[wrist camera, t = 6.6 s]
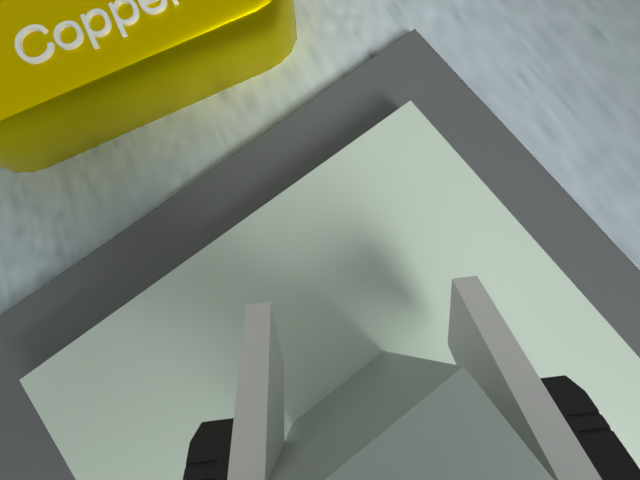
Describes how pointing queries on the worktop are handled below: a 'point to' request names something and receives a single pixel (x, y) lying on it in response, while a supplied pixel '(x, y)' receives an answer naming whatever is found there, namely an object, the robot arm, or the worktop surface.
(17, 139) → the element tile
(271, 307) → the robot arm
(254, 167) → the rubber mat
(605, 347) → the sage lid
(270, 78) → the worktop surface
